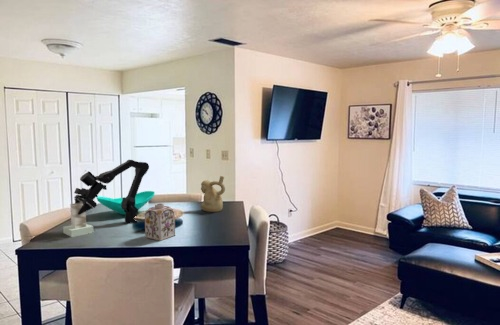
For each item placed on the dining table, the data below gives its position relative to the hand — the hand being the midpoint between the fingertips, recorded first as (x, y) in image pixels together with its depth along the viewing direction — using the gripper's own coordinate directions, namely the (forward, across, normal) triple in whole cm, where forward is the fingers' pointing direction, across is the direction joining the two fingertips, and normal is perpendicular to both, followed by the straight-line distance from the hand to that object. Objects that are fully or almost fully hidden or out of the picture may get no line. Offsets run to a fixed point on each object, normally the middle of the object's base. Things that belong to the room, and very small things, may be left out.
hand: (75, 213), depth 207 cm
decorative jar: (-12, +41, +29) cm, 52 cm away
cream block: (+5, 0, +7) cm, 8 cm away
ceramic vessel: (-55, +12, +72) cm, 92 cm away
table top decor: (-23, -25, +39) cm, 52 cm away
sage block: (+8, 0, +10) cm, 12 cm away
